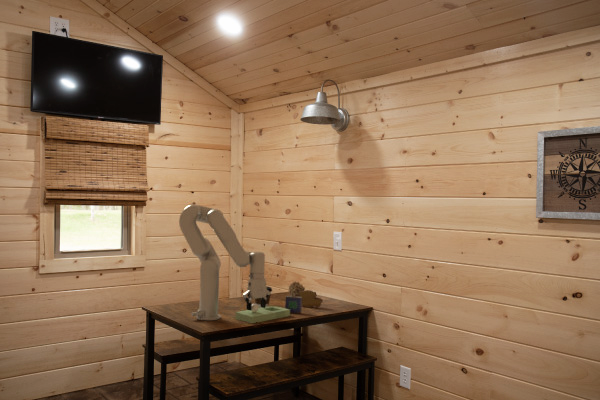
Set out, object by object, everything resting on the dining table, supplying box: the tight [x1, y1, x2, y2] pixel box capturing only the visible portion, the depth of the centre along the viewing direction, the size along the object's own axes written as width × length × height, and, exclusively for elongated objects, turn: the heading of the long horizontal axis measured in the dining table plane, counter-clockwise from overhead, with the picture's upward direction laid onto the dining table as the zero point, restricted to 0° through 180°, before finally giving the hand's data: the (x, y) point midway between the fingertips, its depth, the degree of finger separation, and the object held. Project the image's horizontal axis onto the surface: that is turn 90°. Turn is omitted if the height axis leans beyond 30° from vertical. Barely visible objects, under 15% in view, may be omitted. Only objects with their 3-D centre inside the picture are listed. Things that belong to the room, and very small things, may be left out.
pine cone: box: [288, 281, 306, 297], centre depth 322 cm, size 22×10×10 cm, turn 34°
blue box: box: [284, 294, 303, 315], centre depth 280 cm, size 9×3×11 cm, turn 80°
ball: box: [250, 303, 259, 313], centre depth 262 cm, size 5×5×5 cm
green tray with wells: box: [234, 305, 291, 324], centre depth 266 cm, size 27×13×3 cm, turn 136°
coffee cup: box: [254, 286, 273, 308], centre depth 287 cm, size 11×11×12 cm
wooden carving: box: [299, 289, 324, 309], centre depth 296 cm, size 16×5×10 cm, turn 75°
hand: (256, 308), depth 263 cm, fingers open, 9 cm apart
